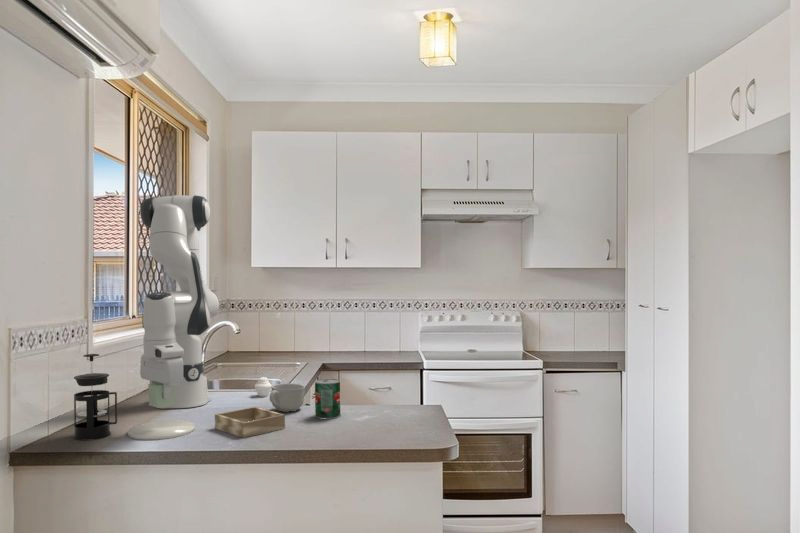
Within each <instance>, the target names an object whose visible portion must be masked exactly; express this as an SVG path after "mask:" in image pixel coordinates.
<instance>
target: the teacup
mask: <svg viewBox="0 0 800 533" xmlns="http://www.w3.org/2000/svg"><path fill="white" fill-rule="evenodd" d="M305 389H306V387H305V385H303V384H299V383H277V384H273V385H272V387H271V391H270V392H269V401H270V403H271V404H272V407H274V408H275V409H276V410H277V411H278V412H281V411H282V412H283V413H290V412H289V411H293V412H296V411H295V410H297V411H298V410H299V409H300V408H301V407H303V404H304V401H305Z"/></svg>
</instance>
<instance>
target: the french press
mask: <svg viewBox="0 0 800 533" xmlns="http://www.w3.org/2000/svg"><path fill="white" fill-rule="evenodd" d="M99 356H100V354H98V353H88V354H84V355H82V357H84V358H85V357H86V358H89V362H90V373H85V374H79V375H75V376H73V380H75V381H76V383H77V385H78V386H80V387H90V390H86V391H80V392H76V393H74V395H73V409H74V410H73V411H74V412H73V413H74V415H73V417H74V419H73V420H74V425H73V426H74V434H73V439H74V438H76V439H86V440H85V441H88V440H87V439H94V440H98V438H100V439H104V438H106V437H109V436H111V433H112V432H111V427H110V426H111V425H117V424H118V392H117V391H112V392H111V391H109V390H105V389H104V390H103V389H100V390H99V389H97V390H94V389H93V386H101V385H105V384H107V383H108V378H109V376H110V374H108V373H104V372H103V373H101V372H98V373H97V372H94V373H93V362H94V357H99ZM111 395H114V408H115V409H114V411H115V412H114V417H115V419H114V421H111V420H110V417H111V416H110V410H111V409H110V396H111ZM105 399H107V409H98V401H99V400H105ZM77 402H85V403H86V404H85V405H86V410H84V411H83V410H82V411H80V412H77ZM105 416H107V418H108V419H107V420H105V419H98V418H102V417H105ZM77 419H85V420H86V421H82V422H79V423H77ZM76 439H75V440H76Z"/></svg>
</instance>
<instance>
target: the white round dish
mask: <svg viewBox="0 0 800 533" xmlns="http://www.w3.org/2000/svg"><path fill="white" fill-rule="evenodd" d="M195 426H196V424H195V423H194V422H192V421H187V420H179V419H178V420H172V419H171V420H169V419H168V420H158V421H152V422H151V421H150V422H144V423H142V424H137V425H135V426H132V427H131V428H129V429H128V430H127V436H128V437H129V438H131V439H134V440H139V441H159V440H158V439H160V440H168V439H173V437H174V438H179V437H182V435H183V436H185V435H188V434H191V433H193V432H194V431H195V429H196V427H195ZM167 438H168V439H167Z"/></svg>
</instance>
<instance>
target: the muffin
mask: <svg viewBox="0 0 800 533" xmlns="http://www.w3.org/2000/svg"><path fill="white" fill-rule="evenodd" d="M272 386H273V385H272V384H271V383H270V381H269V378H267V377H266V376H262V377H259V378H258V379H257V382H256V383H255V384H254V389H255V392H256V393H257V396H258V397H261V398H264V397H268V396H269V395H270V393H271V391H272V388H271V387H272Z"/></svg>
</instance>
